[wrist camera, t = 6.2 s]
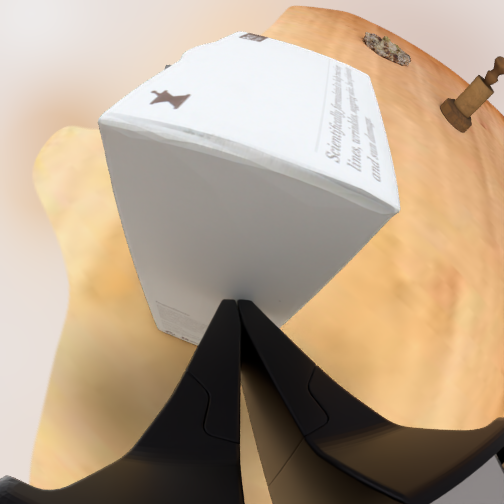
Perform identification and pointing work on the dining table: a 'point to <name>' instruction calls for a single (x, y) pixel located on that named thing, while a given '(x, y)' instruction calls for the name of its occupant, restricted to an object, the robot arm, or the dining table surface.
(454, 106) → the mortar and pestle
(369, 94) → the skincare box
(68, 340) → the dining table surface
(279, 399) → the robot arm
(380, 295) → the dining table surface
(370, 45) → the mineral rock
